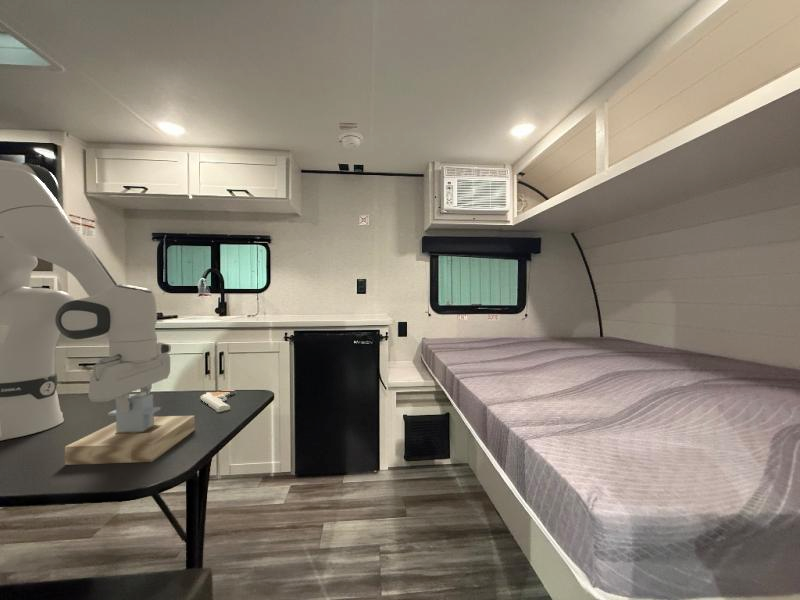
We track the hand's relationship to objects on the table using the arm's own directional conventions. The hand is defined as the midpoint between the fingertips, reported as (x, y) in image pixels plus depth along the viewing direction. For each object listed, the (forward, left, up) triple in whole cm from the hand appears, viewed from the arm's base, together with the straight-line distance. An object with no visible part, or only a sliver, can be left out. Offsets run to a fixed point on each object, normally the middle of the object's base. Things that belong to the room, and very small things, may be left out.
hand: (134, 407), depth 75 cm
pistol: (+6, +32, -10) cm, 34 cm away
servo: (0, 0, -5) cm, 5 cm away
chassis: (0, +1, -10) cm, 10 cm away
